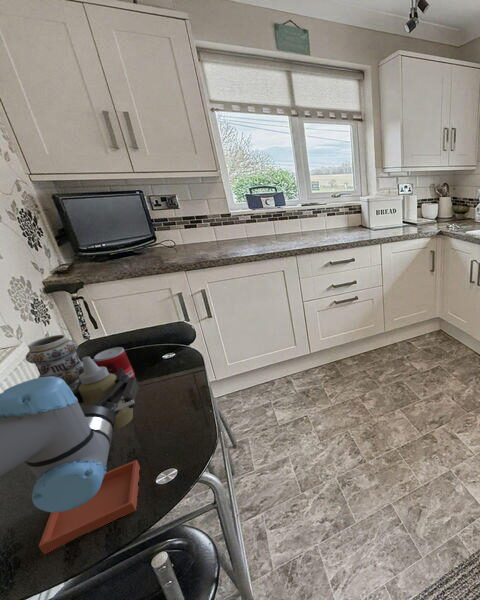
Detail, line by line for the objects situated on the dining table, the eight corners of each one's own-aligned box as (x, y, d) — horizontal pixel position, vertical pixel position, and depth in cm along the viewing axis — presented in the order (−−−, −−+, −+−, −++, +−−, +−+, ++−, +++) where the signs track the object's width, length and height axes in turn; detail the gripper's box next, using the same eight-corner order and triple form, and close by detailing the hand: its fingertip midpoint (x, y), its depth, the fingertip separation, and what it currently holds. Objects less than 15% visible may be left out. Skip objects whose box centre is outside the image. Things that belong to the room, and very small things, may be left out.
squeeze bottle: (87, 433, 75) (50, 366, 68) (123, 410, 82) (94, 347, 76) (111, 438, 72) (76, 369, 66) (146, 414, 80) (118, 349, 73)
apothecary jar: (103, 375, 115) (81, 329, 109) (77, 396, 104) (51, 346, 97) (65, 380, 114) (41, 334, 107) (35, 402, 102) (6, 352, 96)
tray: (44, 555, 58) (38, 546, 57) (62, 500, 68) (57, 492, 67) (136, 511, 64) (132, 502, 63) (140, 467, 75) (136, 459, 74)
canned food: (135, 371, 115) (123, 344, 112) (136, 381, 110) (123, 352, 106) (107, 381, 111) (94, 353, 107) (107, 391, 105) (92, 362, 101)
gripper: (21, 478, 56) (55, 409, 74) (156, 425, 66) (157, 376, 84) (-2, 444, 53) (40, 381, 71) (143, 394, 63) (147, 350, 81)
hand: (103, 378), depth 78 cm, fingers closed on squeeze bottle, 6 cm apart
